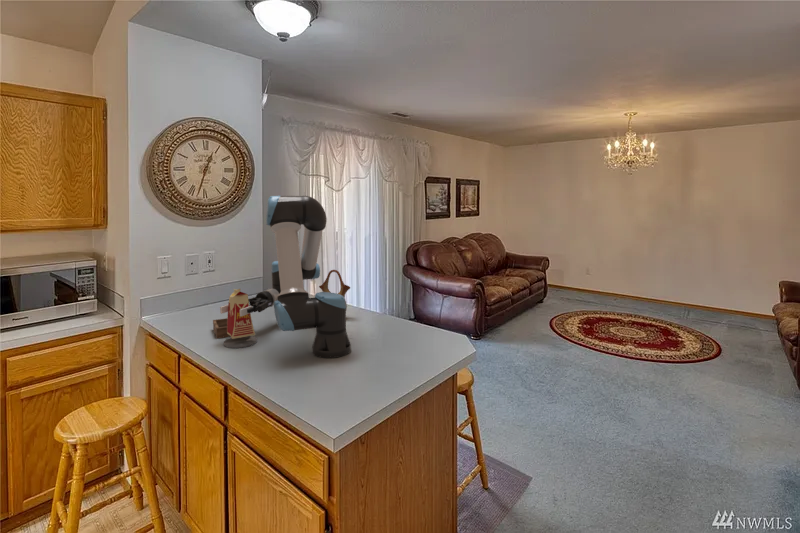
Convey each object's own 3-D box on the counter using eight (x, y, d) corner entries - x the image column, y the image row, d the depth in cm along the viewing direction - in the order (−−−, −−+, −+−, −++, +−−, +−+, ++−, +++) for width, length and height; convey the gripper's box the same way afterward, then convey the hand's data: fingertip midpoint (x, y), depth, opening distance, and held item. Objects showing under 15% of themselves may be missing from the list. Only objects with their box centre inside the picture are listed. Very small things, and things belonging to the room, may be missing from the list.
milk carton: (255, 334, 174) (253, 288, 170) (232, 339, 168) (229, 291, 165) (248, 329, 181) (246, 283, 177) (226, 333, 176) (223, 286, 172)
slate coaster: (259, 344, 172) (259, 343, 172) (226, 350, 166) (226, 348, 166) (253, 335, 183) (253, 333, 183) (221, 340, 177) (221, 338, 177)
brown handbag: (353, 317, 212) (353, 268, 208) (347, 322, 203) (346, 271, 199) (323, 315, 216) (322, 267, 211) (316, 320, 207) (314, 270, 203)
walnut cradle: (251, 333, 186) (250, 323, 185) (217, 338, 179) (216, 328, 179) (245, 325, 198) (245, 315, 197) (213, 329, 191) (212, 320, 191)
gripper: (287, 309, 185) (253, 324, 165) (248, 304, 193) (210, 317, 173) (287, 293, 184) (252, 305, 164) (247, 288, 192) (209, 299, 171)
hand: (230, 311), depth 168 cm, fingers closed on milk carton, 9 cm apart
